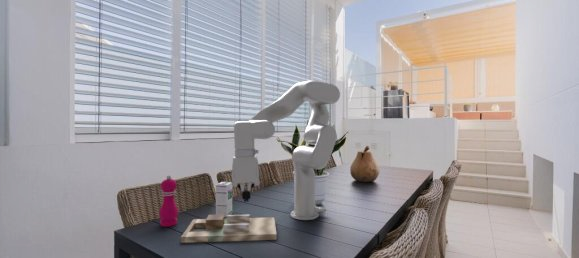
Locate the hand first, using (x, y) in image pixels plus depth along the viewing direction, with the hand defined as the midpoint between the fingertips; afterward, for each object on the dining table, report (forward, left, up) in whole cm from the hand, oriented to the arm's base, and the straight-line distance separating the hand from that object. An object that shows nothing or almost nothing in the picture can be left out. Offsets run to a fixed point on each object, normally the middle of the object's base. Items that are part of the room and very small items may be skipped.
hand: (246, 200), depth 108 cm
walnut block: (+12, 0, -10) cm, 15 cm away
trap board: (+5, +1, -12) cm, 13 cm away
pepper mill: (+32, -9, -12) cm, 35 cm away
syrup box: (+11, -19, -12) cm, 25 cm away
